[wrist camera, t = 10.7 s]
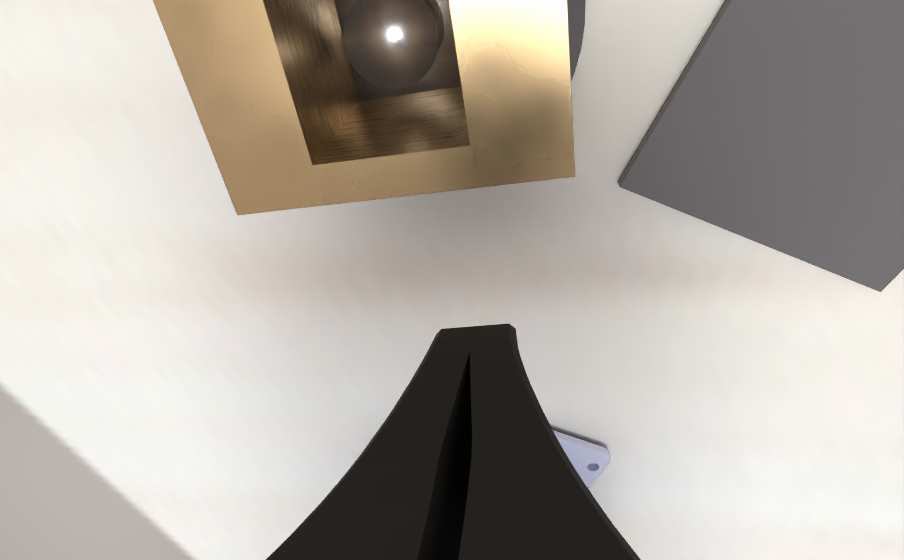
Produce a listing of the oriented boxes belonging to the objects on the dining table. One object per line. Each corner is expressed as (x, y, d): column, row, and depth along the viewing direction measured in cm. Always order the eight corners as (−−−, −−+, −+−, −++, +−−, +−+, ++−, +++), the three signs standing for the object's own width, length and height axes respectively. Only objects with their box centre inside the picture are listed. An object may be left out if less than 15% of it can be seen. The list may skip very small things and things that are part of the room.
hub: (496, 224, 20) (495, 264, 18) (209, 115, 19) (170, 144, 17) (652, -97, 15) (677, -96, 13) (268, -282, 14) (224, -316, 11)
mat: (874, 285, 20) (880, 291, 20) (617, 181, 19) (620, 186, 19) (1247, -98, 14) (1265, -98, 14) (900, -295, 13) (911, -301, 12)
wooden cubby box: (558, 107, 17) (574, 176, 13) (298, 142, 18) (237, 215, 14) (544, -122, 14) (560, -130, 10) (235, -63, 15) (134, -48, 11)
